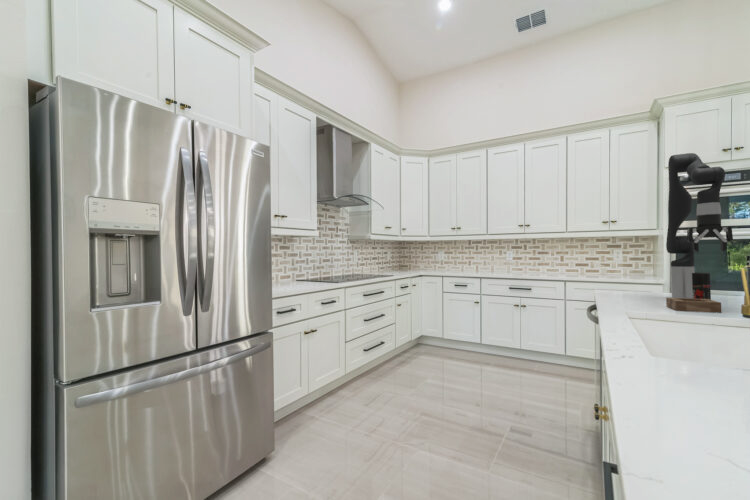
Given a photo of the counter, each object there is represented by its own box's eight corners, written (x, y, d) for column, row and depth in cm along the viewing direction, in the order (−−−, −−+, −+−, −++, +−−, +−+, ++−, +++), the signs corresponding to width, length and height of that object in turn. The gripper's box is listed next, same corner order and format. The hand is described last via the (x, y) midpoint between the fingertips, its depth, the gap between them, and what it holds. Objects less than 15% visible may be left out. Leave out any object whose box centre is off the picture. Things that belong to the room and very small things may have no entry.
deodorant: (714, 307, 153) (713, 273, 153) (701, 307, 153) (700, 273, 154) (702, 305, 159) (701, 272, 159) (689, 305, 159) (688, 272, 160)
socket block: (666, 306, 157) (666, 297, 157) (707, 308, 151) (706, 298, 151) (676, 310, 145) (676, 301, 145) (721, 312, 138) (721, 302, 138)
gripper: (726, 213, 149) (727, 251, 149) (684, 215, 155) (685, 251, 155) (735, 212, 142) (736, 251, 142) (690, 214, 149) (691, 252, 149)
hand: (709, 251), depth 149 cm, fingers open, 8 cm apart
